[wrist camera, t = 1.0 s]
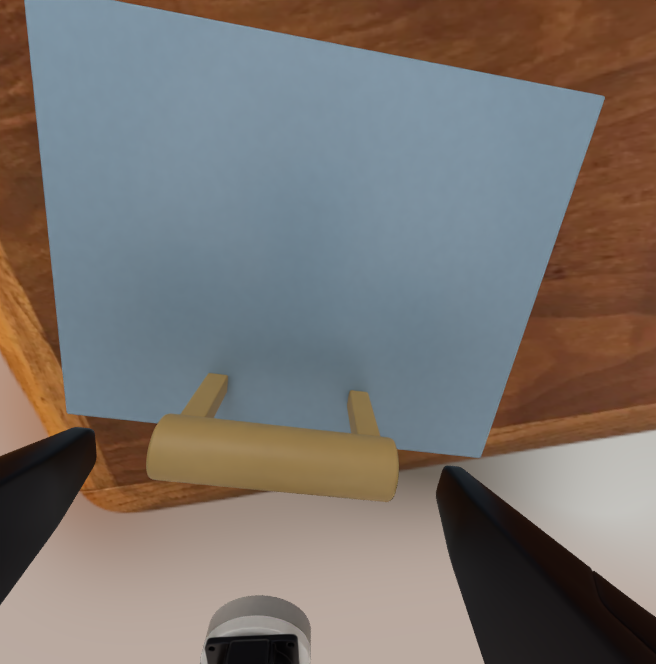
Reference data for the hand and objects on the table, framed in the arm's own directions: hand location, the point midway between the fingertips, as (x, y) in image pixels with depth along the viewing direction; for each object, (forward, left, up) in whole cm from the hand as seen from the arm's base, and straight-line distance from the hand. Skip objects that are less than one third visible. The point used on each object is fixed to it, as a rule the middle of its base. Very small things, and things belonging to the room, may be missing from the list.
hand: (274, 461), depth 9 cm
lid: (+4, -1, -4) cm, 6 cm away
